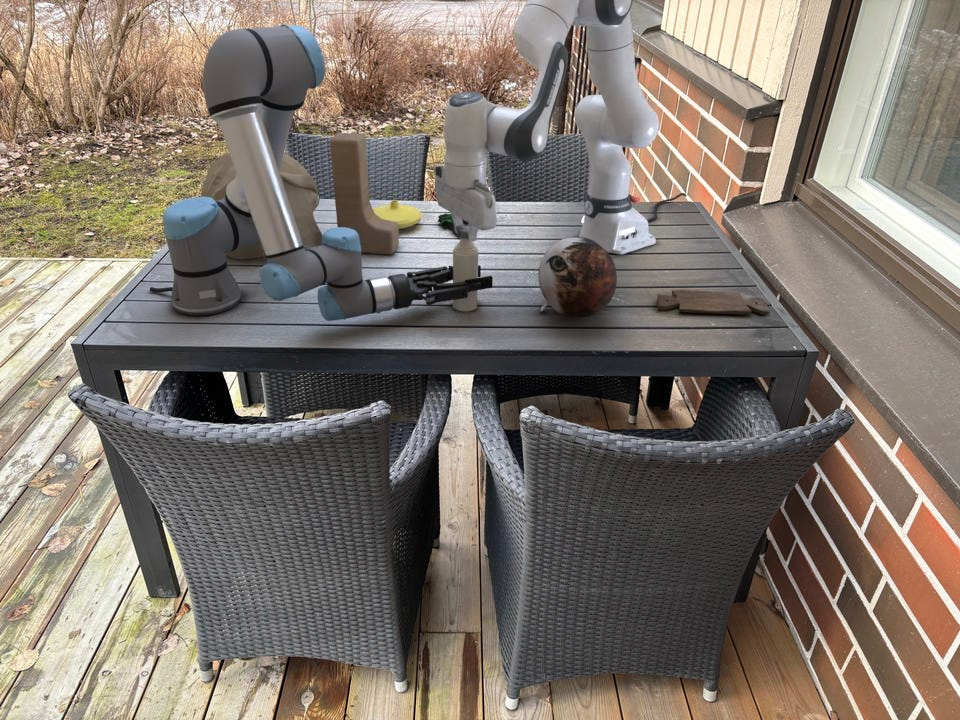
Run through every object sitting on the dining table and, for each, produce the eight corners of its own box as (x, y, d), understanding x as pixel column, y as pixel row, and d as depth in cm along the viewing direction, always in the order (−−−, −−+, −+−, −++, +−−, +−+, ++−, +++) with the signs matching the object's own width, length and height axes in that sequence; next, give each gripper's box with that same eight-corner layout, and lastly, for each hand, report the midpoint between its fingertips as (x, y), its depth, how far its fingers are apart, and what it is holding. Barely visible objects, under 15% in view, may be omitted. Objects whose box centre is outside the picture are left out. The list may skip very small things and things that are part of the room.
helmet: (337, 253, 194) (330, 140, 179) (228, 274, 179) (210, 153, 164) (298, 224, 213) (288, 120, 198) (196, 241, 198) (178, 130, 183)
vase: (376, 214, 219) (375, 191, 216) (426, 217, 218) (426, 194, 214) (362, 232, 206) (360, 208, 202) (415, 235, 204) (415, 212, 201)
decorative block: (393, 255, 191) (387, 142, 176) (339, 251, 193) (328, 139, 178) (399, 245, 198) (394, 134, 183) (347, 241, 200) (337, 132, 184)
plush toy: (515, 268, 172) (574, 208, 164) (568, 314, 177) (628, 258, 168) (511, 307, 153) (577, 241, 144) (571, 357, 157) (638, 296, 149)
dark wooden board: (652, 295, 173) (658, 314, 165) (653, 289, 172) (659, 307, 164) (760, 298, 172) (772, 317, 163) (761, 291, 171) (774, 310, 162)
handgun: (453, 229, 202) (431, 211, 213) (453, 239, 203) (431, 221, 214) (503, 222, 208) (480, 205, 219) (502, 231, 210) (479, 214, 221)
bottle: (476, 311, 164) (478, 237, 155) (452, 311, 164) (452, 236, 155) (477, 300, 169) (478, 228, 160) (453, 300, 169) (453, 227, 160)
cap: (475, 238, 157) (475, 231, 156) (458, 239, 156) (458, 232, 155) (472, 232, 160) (472, 225, 159) (455, 233, 159) (455, 226, 158)
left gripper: (378, 291, 166) (469, 275, 174) (405, 326, 151) (503, 307, 160) (376, 261, 162) (469, 247, 170) (403, 294, 147) (504, 276, 156)
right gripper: (505, 185, 145) (503, 249, 152) (454, 161, 160) (455, 220, 167) (478, 190, 142) (477, 255, 149) (429, 165, 157) (431, 225, 164)
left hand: (485, 276), depth 165 cm, fingers closed on bottle, 6 cm apart
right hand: (465, 236), depth 158 cm, fingers closed on cap, 4 cm apart
